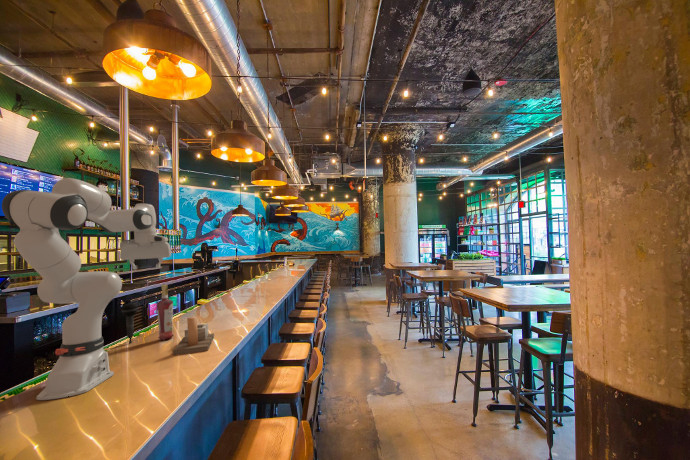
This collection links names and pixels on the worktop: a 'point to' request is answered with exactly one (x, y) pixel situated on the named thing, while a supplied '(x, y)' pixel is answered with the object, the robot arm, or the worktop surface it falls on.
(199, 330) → the well board
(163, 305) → the liquor
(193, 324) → the peg
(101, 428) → the worktop surface
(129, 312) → the microphone
